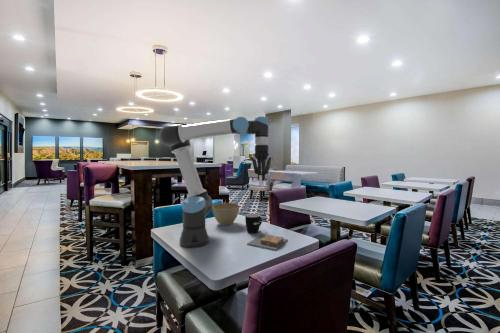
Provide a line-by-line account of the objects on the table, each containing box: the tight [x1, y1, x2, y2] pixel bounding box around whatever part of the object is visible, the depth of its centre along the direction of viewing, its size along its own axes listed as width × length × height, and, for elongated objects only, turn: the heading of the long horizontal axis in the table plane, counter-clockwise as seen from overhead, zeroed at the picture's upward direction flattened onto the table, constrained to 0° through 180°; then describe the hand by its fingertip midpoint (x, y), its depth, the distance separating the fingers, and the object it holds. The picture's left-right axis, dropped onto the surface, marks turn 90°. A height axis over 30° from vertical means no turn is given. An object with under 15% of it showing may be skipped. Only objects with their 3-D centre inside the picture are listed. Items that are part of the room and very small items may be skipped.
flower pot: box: [211, 202, 240, 226], centre depth 164 cm, size 18×18×12 cm
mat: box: [246, 234, 288, 252], centre depth 131 cm, size 16×16×1 cm
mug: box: [244, 212, 263, 234], centre depth 149 cm, size 12×9×10 cm
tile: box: [261, 234, 285, 247], centre depth 129 cm, size 2×9×9 cm
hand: (261, 186), depth 140 cm, fingers closed
